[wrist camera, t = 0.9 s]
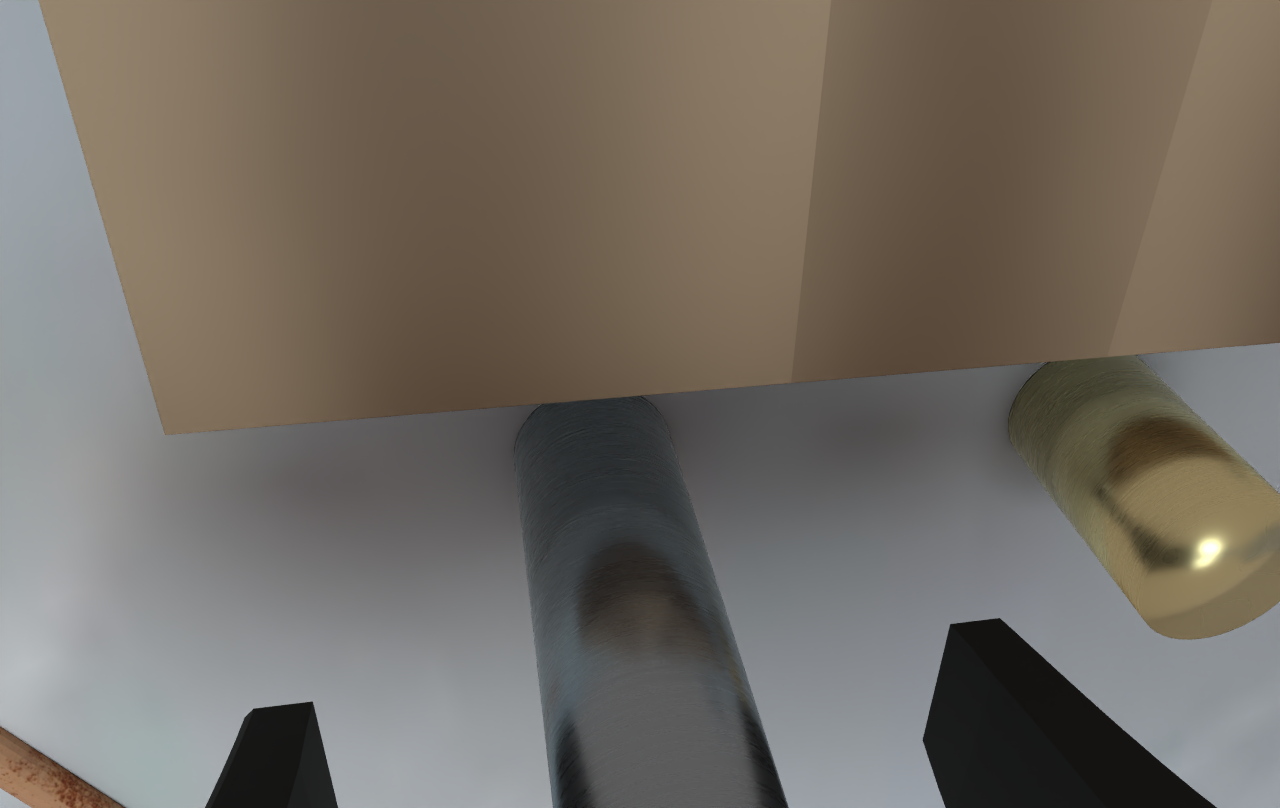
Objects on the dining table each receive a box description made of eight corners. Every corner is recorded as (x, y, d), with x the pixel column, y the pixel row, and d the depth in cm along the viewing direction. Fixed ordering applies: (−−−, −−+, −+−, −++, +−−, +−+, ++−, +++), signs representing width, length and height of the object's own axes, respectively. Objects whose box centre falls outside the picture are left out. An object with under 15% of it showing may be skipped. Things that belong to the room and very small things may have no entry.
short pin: (1167, 339, 17) (1340, 495, 14) (1127, 460, 18) (1277, 628, 15) (1025, 350, 17) (1169, 514, 14) (995, 472, 18) (1120, 648, 15)
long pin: (672, 379, 16) (841, 867, 9) (667, 505, 17) (813, 1009, 11) (509, 392, 16) (569, 907, 9) (518, 519, 17) (575, 1048, 10)
